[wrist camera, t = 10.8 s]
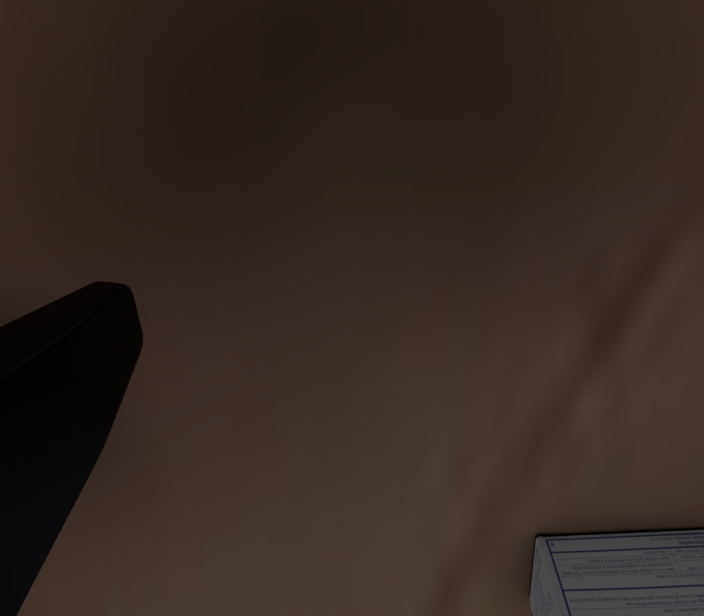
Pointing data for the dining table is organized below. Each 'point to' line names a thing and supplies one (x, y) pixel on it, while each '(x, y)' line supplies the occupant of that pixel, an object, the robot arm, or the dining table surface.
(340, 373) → the dining table surface
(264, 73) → the dining table surface
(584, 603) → the medicine box
